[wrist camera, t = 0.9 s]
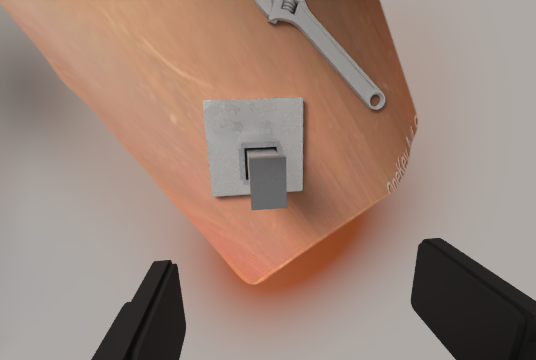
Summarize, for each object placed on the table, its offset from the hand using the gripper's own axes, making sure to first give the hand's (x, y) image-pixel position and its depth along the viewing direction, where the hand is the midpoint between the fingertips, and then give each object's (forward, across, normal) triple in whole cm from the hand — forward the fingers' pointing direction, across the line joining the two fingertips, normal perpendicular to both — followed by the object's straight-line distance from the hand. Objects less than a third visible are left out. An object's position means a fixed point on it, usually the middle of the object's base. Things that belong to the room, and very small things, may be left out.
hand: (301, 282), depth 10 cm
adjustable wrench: (+32, -10, -14) cm, 36 cm away
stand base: (+32, 0, 0) cm, 32 cm away
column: (+30, 0, 0) cm, 30 cm away
